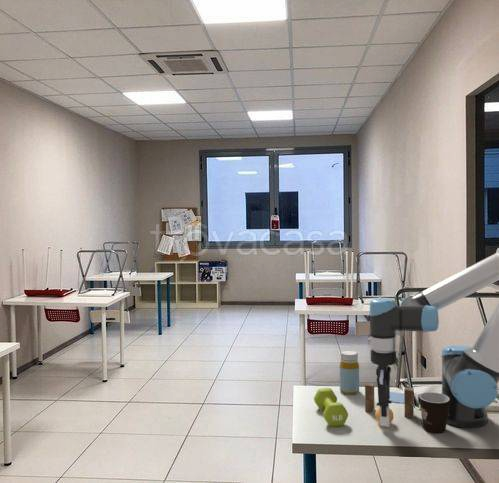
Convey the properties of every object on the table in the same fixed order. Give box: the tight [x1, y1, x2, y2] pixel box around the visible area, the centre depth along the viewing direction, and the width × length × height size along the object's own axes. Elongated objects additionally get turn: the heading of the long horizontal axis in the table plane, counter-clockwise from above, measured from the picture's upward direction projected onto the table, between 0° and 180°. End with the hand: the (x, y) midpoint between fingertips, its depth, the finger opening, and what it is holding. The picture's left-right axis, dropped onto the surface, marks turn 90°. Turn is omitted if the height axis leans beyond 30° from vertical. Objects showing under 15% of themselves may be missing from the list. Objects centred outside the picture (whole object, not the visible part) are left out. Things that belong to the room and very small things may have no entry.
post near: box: [403, 386, 415, 419], centre depth 159 cm, size 3×3×9 cm
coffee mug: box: [417, 391, 449, 435], centre depth 151 cm, size 12×9×10 cm
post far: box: [364, 382, 375, 413], centre depth 164 cm, size 3×3×9 cm
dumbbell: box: [313, 387, 349, 428], centre depth 161 cm, size 16×8×7 cm, turn 5°
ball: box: [374, 406, 394, 424], centre depth 154 cm, size 6×6×6 cm
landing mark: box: [389, 391, 404, 404], centre depth 175 cm, size 9×9×1 cm
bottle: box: [339, 349, 360, 396], centre depth 181 cm, size 7×7×15 cm
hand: (384, 425), depth 150 cm, fingers closed
